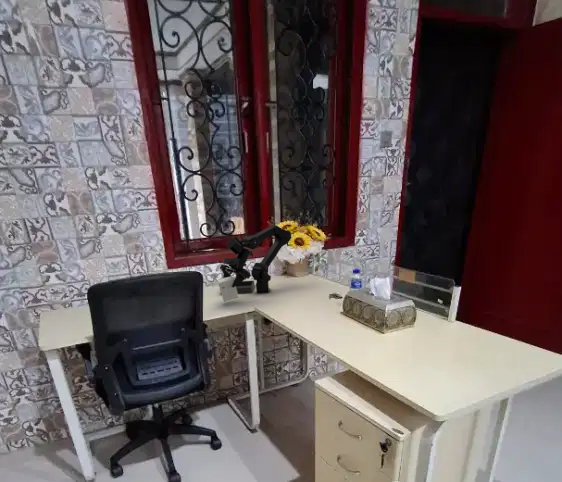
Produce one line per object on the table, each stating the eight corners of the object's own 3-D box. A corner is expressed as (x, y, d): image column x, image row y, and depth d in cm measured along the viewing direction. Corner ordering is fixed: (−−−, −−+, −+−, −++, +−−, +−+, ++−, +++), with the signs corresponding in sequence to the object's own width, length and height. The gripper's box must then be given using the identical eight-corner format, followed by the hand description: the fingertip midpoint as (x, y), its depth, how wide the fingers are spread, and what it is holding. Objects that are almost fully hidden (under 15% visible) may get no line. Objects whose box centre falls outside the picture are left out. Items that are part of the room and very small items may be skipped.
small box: (237, 294, 219) (232, 275, 214) (238, 297, 215) (233, 278, 209) (222, 298, 218) (217, 279, 213) (224, 302, 214) (218, 282, 208)
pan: (254, 285, 242) (253, 280, 241) (251, 292, 231) (251, 287, 229) (225, 287, 244) (224, 282, 242) (221, 294, 232) (220, 289, 231)
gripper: (219, 248, 214) (206, 275, 212) (243, 252, 202) (229, 280, 200) (233, 260, 222) (220, 286, 221) (256, 264, 210) (243, 291, 209)
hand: (227, 285), depth 213 cm, fingers closed on small box, 7 cm apart
